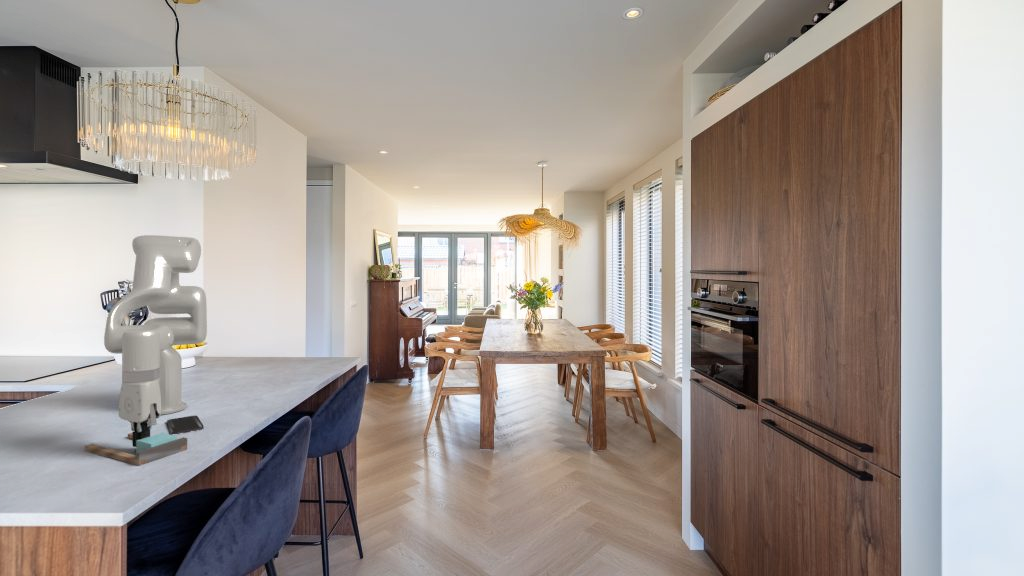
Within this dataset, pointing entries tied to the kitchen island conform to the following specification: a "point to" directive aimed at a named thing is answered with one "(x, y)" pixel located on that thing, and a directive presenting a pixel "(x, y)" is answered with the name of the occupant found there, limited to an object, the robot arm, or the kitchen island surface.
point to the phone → (184, 424)
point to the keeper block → (154, 441)
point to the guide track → (142, 455)
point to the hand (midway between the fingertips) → (141, 445)
